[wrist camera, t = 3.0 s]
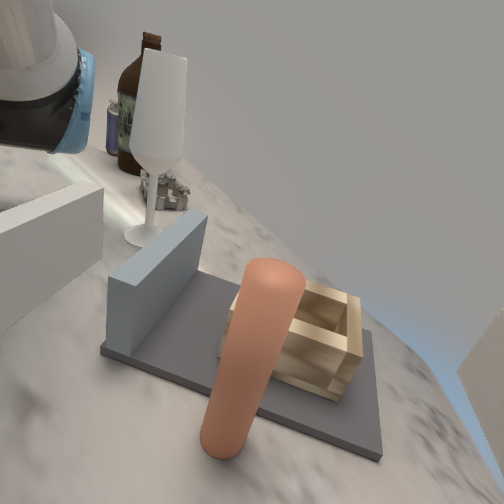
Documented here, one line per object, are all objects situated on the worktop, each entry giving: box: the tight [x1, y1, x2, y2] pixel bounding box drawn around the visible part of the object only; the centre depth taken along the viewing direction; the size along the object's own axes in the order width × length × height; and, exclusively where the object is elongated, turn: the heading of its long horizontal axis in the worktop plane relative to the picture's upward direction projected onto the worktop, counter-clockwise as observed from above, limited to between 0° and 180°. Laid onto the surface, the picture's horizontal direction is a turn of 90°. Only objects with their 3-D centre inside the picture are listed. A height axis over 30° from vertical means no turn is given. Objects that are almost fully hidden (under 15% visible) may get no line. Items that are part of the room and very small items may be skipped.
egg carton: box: [140, 169, 190, 211], centre depth 62 cm, size 11×8×4 cm
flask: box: [106, 100, 118, 156], centre depth 77 cm, size 9×3×11 cm, turn 22°
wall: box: [105, 209, 208, 357], centre depth 36 cm, size 2×16×8 cm, turn 166°
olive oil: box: [117, 32, 161, 176], centre depth 67 cm, size 11×11×25 cm
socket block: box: [217, 280, 363, 402], centre depth 35 cm, size 12×9×6 cm
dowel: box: [200, 258, 306, 459], centre depth 24 cm, size 4×4×16 cm
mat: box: [100, 270, 383, 462], centre depth 37 cm, size 26×16×1 cm, turn 76°
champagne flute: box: [124, 48, 187, 247], centre depth 45 cm, size 7×7×24 cm
